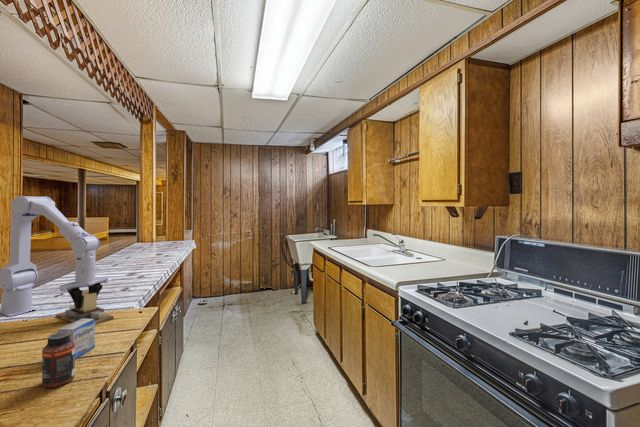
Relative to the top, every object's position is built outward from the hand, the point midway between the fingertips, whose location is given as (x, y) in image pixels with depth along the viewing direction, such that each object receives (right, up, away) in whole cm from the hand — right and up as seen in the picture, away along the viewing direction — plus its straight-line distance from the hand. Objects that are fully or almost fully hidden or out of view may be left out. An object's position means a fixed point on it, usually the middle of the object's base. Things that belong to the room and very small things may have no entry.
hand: (85, 306), depth 110 cm
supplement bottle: (+23, -7, -37) cm, 44 cm away
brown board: (0, -4, 0) cm, 4 cm away
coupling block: (0, -2, 0) cm, 2 cm away
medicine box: (+17, -6, -25) cm, 30 cm away
